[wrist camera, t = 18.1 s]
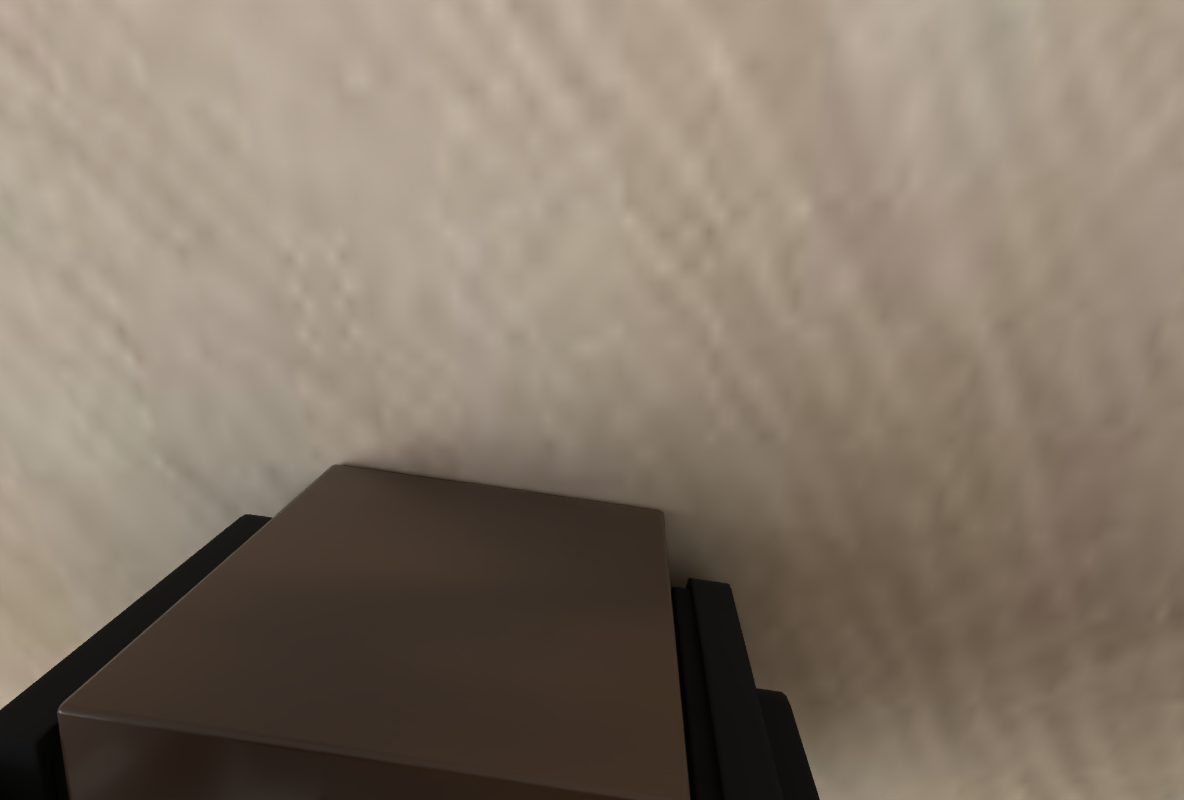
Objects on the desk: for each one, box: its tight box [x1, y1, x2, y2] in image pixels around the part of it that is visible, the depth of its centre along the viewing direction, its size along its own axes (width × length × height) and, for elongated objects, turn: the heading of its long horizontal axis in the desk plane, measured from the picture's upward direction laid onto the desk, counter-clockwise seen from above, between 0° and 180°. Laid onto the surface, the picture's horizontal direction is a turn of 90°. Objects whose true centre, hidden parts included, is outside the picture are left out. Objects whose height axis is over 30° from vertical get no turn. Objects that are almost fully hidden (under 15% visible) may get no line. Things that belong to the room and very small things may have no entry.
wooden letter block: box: [57, 465, 691, 800], centre depth 7 cm, size 4×4×5 cm
